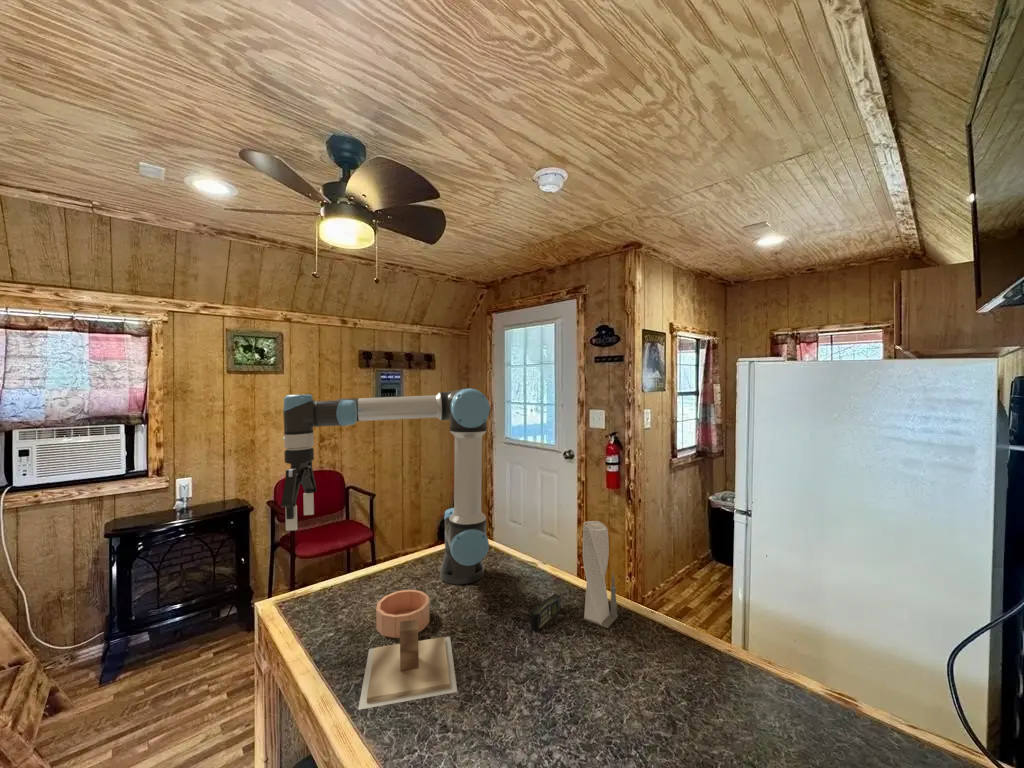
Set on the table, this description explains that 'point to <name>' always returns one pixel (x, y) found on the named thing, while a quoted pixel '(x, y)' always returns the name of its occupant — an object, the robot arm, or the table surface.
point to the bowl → (401, 611)
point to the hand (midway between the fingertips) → (300, 522)
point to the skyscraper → (597, 575)
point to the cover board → (408, 679)
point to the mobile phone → (545, 612)
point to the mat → (365, 705)
